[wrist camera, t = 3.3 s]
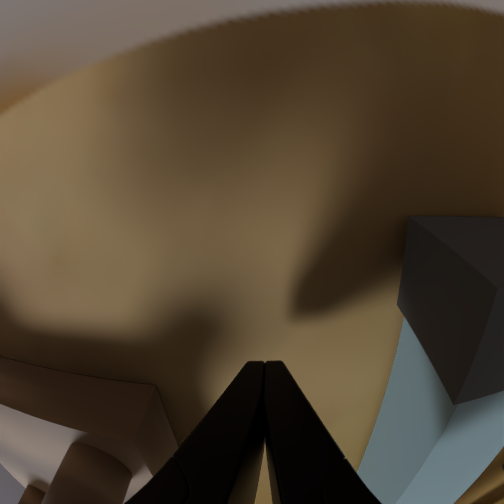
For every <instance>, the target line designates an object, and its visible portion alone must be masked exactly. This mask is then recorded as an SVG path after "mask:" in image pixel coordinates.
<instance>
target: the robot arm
mask: <svg viewBox="0 0 504 504" xmlns="http://www.w3.org/2000/svg"><path fill="white" fill-rule="evenodd" d="M265 444H266V455H267V463H268V471H269V479H270V487H271V495H272V503H273V504H382V503H381V502H380V501H379V500H378V499H377V497H376V496H375V495H374V494H373V493H372V492H371V491H370V490H369V488H368V487H367V486H366V485H365V483H364V482H363V481H362V479H361V478H360V477H359V475H358V474H357V473H356V471H355V470H354V468H353V467H352V465H351V464H350V463H349V461H348V460H347V459H345V456H344V454H343V453H342V451H341V450H340V448H339V447H338V445H337V444H336V442H335V441H334V439H333V438H332V436H331V435H330V433H329V432H328V430H327V429H326V427H325V426H324V424H323V423H322V421H321V420H320V418H319V417H318V415H317V413H316V412H315V410H314V409H313V407H312V406H311V404H310V403H309V401H308V400H307V398H306V397H305V395H304V394H303V392H302V390H301V389H300V387H299V386H298V384H297V383H296V381H295V380H294V378H293V376H292V375H291V373H290V372H289V370H288V369H287V367H286V366H285V364H284V363H283V361H266V362H265V363H264V361H248V362H247V363H246V364H245V365H244V366H243V368H242V369H241V370H240V372H239V373H238V374H237V376H236V377H235V378H234V380H233V381H232V382H231V383H230V385H229V386H228V387H227V389H226V390H225V391H224V392H223V394H222V395H221V396H220V398H219V399H218V400H217V401H216V403H215V404H214V405H213V406H212V408H211V409H210V410H209V411H208V413H207V414H206V415H205V416H204V418H203V419H202V420H201V421H200V423H199V424H198V425H197V426H196V427H195V429H194V430H193V431H192V432H191V434H190V435H189V436H188V437H187V438H186V440H185V441H184V442H183V443H182V444H181V446H180V447H179V448H178V449H177V450H176V451H175V453H174V454H173V457H170V458H169V459H168V461H167V462H166V463H165V464H164V465H163V466H162V468H161V469H160V470H159V471H158V472H157V473H156V474H155V475H154V476H153V477H152V478H151V479H150V480H149V481H148V483H147V484H146V485H144V486H143V487H142V488H141V489H140V490H139V491H138V492H137V493H136V494H134V495H133V496H132V497H131V498H130V499H129V500H127V501H126V502H125V503H124V504H254V502H255V497H256V492H257V487H258V481H259V476H260V470H261V464H262V459H263V453H264V446H265Z"/></svg>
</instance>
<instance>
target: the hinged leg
mask: <svg viewBox="0 0 504 504" xmlns="http://www.w3.org/2000/svg"><path fill="white" fill-rule="evenodd" d="M397 305H398V307H399V309H400V310H401V312H402V314H403V315H404V320H403V325H402V330H401V334H400V338H399V343H398V347H397V351H396V355H395V359H394V363H393V367H392V371H391V374H390V378H389V381H388V385H387V388H386V392H385V395H384V398H383V402H382V405H381V408H380V411H379V414H378V417H377V420H376V423H375V426H374V429H373V432H372V435H371V437H370V440H369V443H368V446H367V448H366V451H365V454H364V456H363V459H362V461H361V464H360V466H359V469H358V471H357V474H358V475H359V477H360V478H361V479H362V481H363V482H364V483H365V485H366V486H367V487H368V488H369V490H370V491H371V492H372V493H373V494H374V495H375V496H376V497H377V499H378V500H379V501H380V502H381V503H382V504H453V503H454V502H455V501H456V500H457V499H458V498H459V497H460V496H461V495H462V494H463V493H464V492H465V491H466V490H467V489H468V488H469V487H470V486H471V485H472V484H473V483H474V481H475V480H476V479H477V478H478V477H479V476H480V475H481V474H482V472H483V471H484V470H485V469H486V468H487V466H488V465H489V464H490V463H491V462H492V460H493V459H494V458H495V457H496V455H497V454H498V453H499V452H500V450H501V449H502V448H503V446H504V217H468V216H408V223H407V234H406V244H405V252H404V260H403V268H402V275H401V282H400V288H399V295H398V301H397Z"/></svg>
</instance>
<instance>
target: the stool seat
mask: <svg viewBox="0 0 504 504" xmlns="http://www.w3.org/2000/svg"><path fill="white" fill-rule="evenodd" d="M178 448H179V446H178V444H177V441H176V439H175V436H174V434H173V431H172V429H171V426H170V423H169V421H168V418H167V415H166V413H165V410H164V407H163V404H162V401H161V399H160V396H159V393H158V390H157V387H156V385H148V384H139V383H131V382H123V381H115V380H108V379H102V378H95V377H89V376H83V375H78V374H72V373H67V372H62V371H57V370H52V369H47V368H43V367H38V366H34V365H30V364H26V363H22V362H18V361H14V360H10V359H6V358H3V357H0V463H1V464H2V465H3V466H4V467H5V468H6V469H7V470H8V471H9V472H10V473H11V474H12V475H13V477H15V479H16V480H18V481H19V482H20V483H21V484H22V485H23V486H24V487H25V488H26V490H25V491H24V493H23V495H22V497H21V499H20V501H19V503H18V504H124V503H125V502H126V501H127V500H129V499H130V498H131V497H132V496H133V495H134V494H136V493H137V492H138V491H139V490H140V489H141V488H142V487H143V486H144V485H146V484H147V483H148V481H149V480H150V479H151V478H152V477H153V476H154V475H155V474H156V473H157V472H158V471H159V470H160V469H161V468H162V466H163V465H164V464H165V463H166V462H167V461H168V459H169V458H170V457H173V454H174V453H175V451H176V450H177V449H178Z"/></svg>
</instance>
